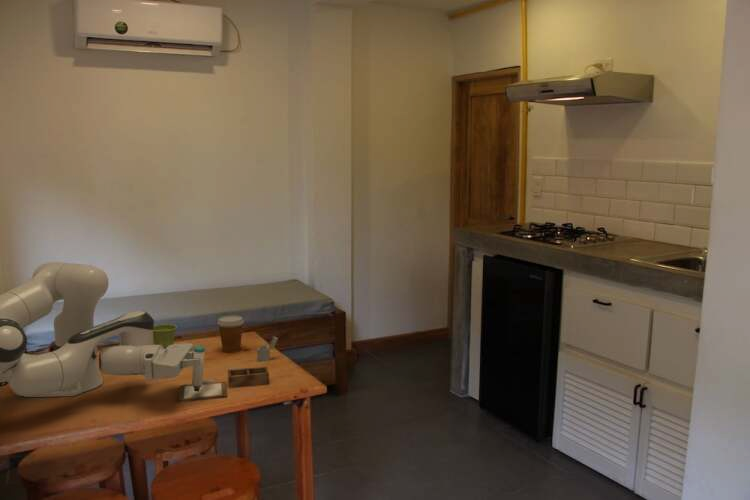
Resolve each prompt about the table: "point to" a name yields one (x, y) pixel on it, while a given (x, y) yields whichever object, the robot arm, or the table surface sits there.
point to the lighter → (265, 350)
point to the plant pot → (164, 334)
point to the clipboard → (203, 391)
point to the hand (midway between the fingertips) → (201, 359)
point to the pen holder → (248, 377)
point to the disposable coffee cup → (230, 332)
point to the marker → (198, 368)
